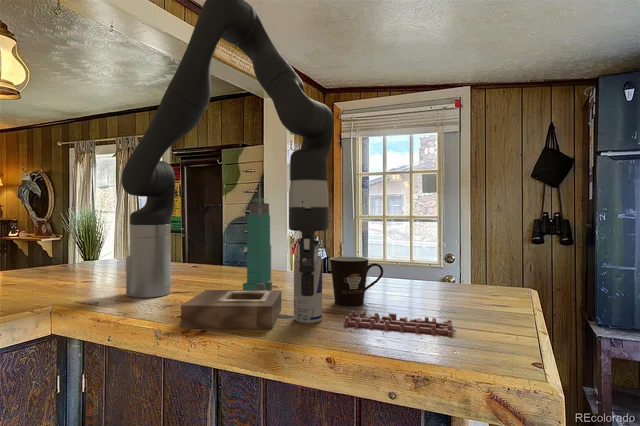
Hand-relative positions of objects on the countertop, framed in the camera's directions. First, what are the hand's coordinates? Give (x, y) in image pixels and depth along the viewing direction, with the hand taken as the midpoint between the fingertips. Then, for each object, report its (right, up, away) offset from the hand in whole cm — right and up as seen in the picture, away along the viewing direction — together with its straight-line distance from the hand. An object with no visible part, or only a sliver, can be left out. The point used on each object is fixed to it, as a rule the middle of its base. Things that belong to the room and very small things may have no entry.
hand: (308, 291), depth 75 cm
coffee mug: (+10, -6, +14) cm, 18 cm away
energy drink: (0, -6, 0) cm, 6 cm away
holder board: (-14, -6, +1) cm, 15 cm away
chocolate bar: (+17, -6, -4) cm, 18 cm away
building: (-13, -6, +22) cm, 26 cm away
